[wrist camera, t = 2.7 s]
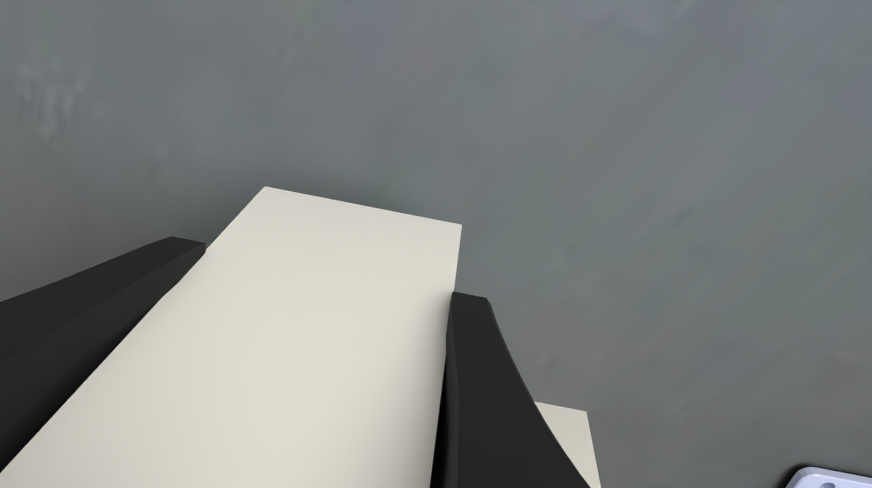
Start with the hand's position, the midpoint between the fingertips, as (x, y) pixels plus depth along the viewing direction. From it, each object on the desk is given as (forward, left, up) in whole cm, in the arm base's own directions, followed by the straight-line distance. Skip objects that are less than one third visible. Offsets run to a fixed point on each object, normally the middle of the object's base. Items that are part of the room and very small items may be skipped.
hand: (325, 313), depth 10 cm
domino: (0, 0, -3) cm, 3 cm away
